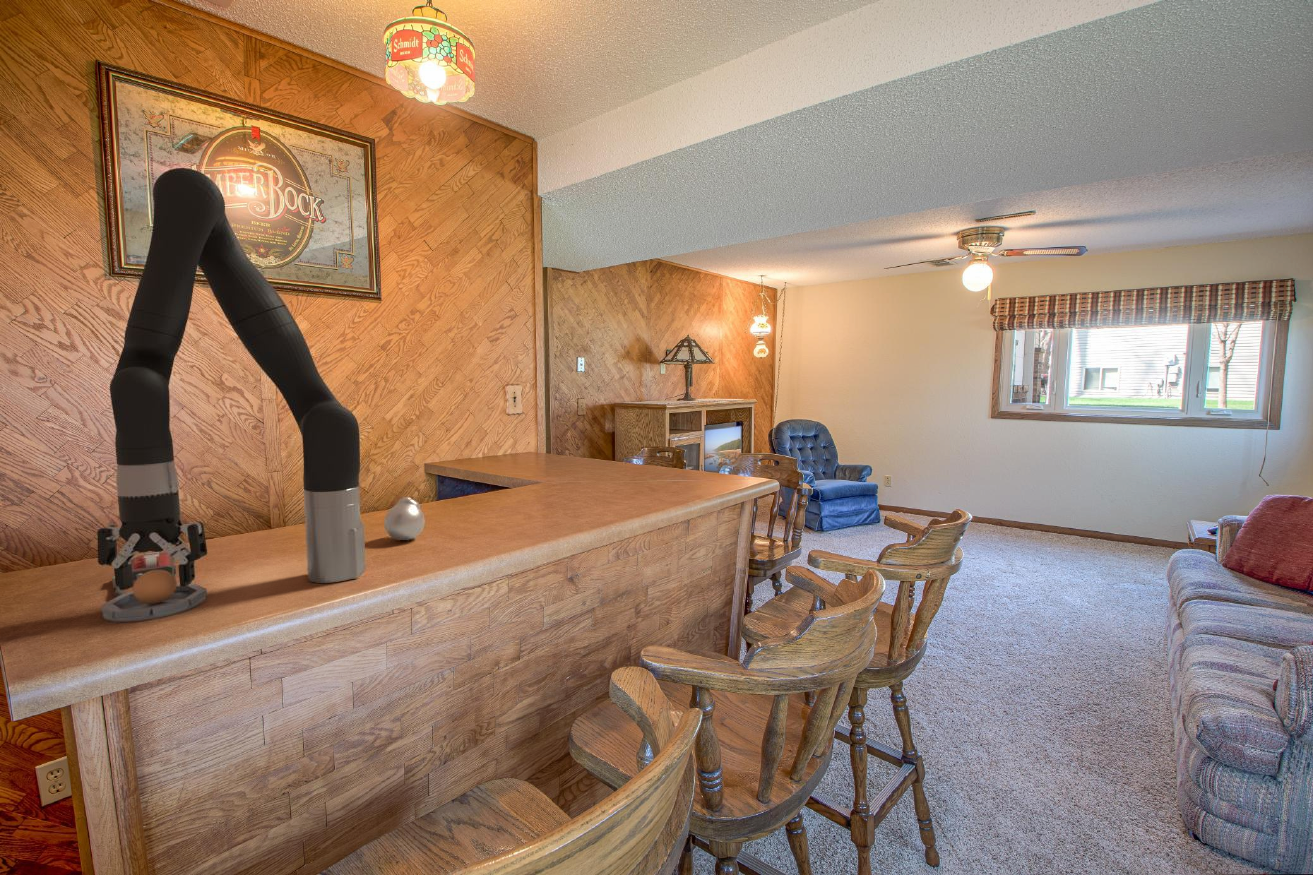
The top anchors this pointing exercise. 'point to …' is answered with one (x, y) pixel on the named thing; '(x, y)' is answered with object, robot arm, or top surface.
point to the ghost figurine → (404, 520)
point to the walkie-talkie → (149, 566)
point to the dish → (153, 605)
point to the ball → (154, 586)
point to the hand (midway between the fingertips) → (156, 586)
